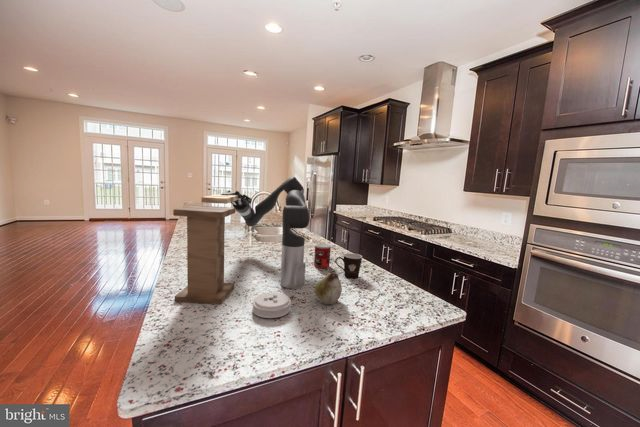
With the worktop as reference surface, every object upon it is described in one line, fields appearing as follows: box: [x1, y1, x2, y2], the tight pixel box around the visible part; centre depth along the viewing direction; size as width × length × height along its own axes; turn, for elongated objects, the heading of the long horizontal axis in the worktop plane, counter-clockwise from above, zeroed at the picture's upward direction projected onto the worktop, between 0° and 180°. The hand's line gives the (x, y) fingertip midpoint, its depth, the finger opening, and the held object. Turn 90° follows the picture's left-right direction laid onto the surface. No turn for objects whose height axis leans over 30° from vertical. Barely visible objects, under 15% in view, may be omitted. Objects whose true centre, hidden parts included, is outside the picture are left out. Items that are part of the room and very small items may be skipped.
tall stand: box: [172, 205, 236, 305], centre depth 98 cm, size 14×16×32 cm
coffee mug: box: [334, 252, 363, 280], centre depth 127 cm, size 12×9×10 cm
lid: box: [251, 291, 292, 319], centre depth 90 cm, size 13×13×5 cm
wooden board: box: [200, 190, 238, 205], centre depth 118 cm, size 26×10×2 cm, turn 179°
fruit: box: [314, 272, 343, 305], centre depth 99 cm, size 10×9×12 cm
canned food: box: [313, 243, 332, 269], centre depth 139 cm, size 8×8×11 cm
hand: (232, 192), depth 125 cm, fingers closed on wooden board, 3 cm apart
